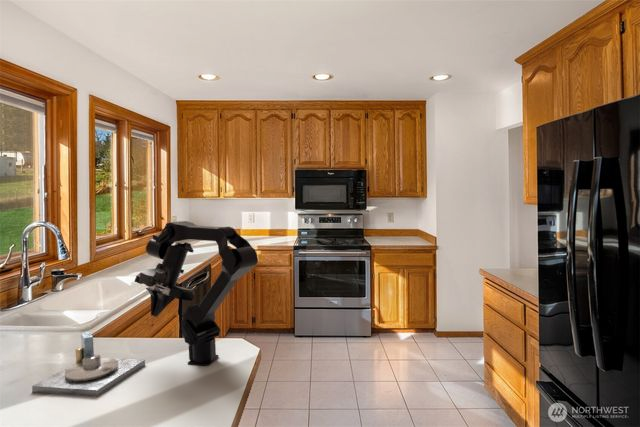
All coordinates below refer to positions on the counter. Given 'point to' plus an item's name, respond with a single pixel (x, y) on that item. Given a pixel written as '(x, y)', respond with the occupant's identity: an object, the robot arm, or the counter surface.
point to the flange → (90, 363)
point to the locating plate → (88, 387)
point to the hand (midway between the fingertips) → (153, 315)
